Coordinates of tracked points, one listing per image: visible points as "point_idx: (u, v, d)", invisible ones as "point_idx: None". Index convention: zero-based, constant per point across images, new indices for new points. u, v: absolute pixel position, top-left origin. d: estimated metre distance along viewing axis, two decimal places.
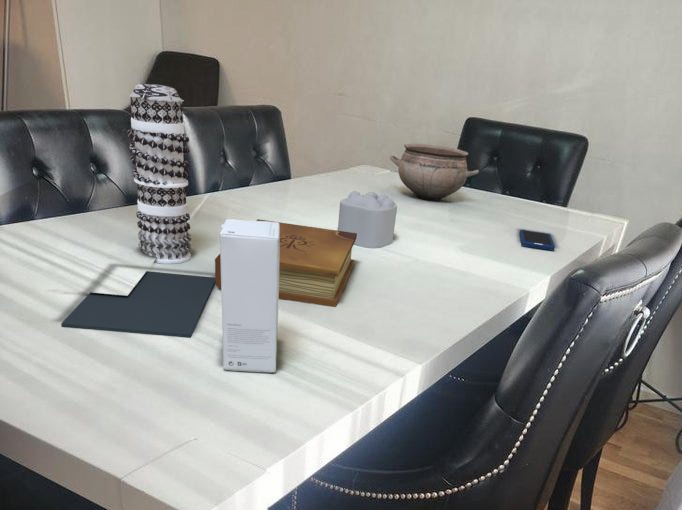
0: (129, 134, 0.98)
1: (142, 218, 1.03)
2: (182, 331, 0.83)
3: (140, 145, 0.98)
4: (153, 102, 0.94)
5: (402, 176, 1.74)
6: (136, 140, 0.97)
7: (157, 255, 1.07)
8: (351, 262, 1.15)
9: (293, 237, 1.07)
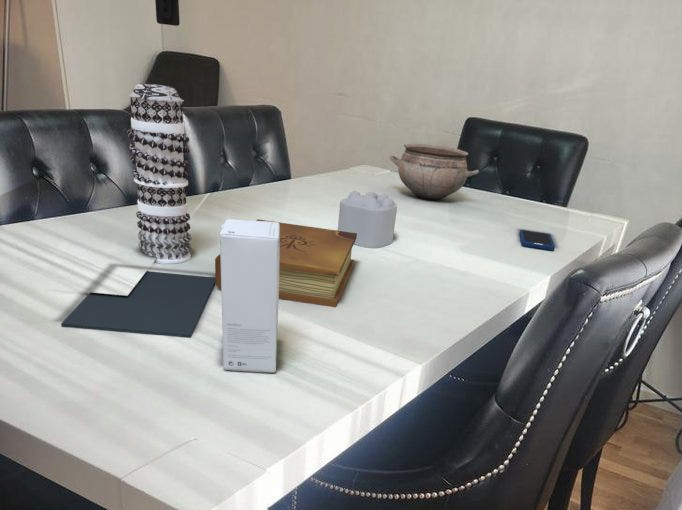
0: (129, 134, 0.98)
1: (142, 218, 1.03)
2: (182, 331, 0.83)
3: (140, 145, 0.98)
4: (153, 102, 0.94)
5: (402, 176, 1.74)
6: (136, 140, 0.97)
7: (157, 255, 1.07)
8: (351, 262, 1.15)
9: (293, 237, 1.07)
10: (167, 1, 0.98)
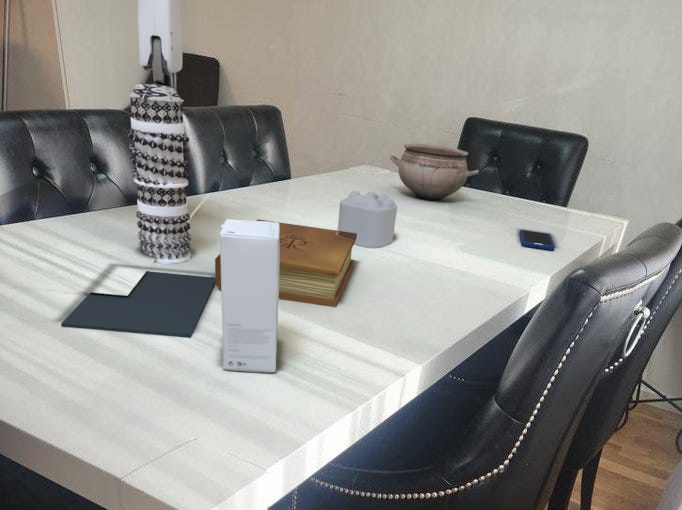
0: (129, 134, 0.97)
1: (142, 218, 1.03)
2: (182, 331, 0.83)
3: (140, 145, 0.98)
4: (153, 102, 0.94)
5: (402, 176, 1.74)
6: (136, 140, 0.97)
7: (157, 255, 1.07)
8: (351, 262, 1.15)
9: (293, 237, 1.07)
10: None
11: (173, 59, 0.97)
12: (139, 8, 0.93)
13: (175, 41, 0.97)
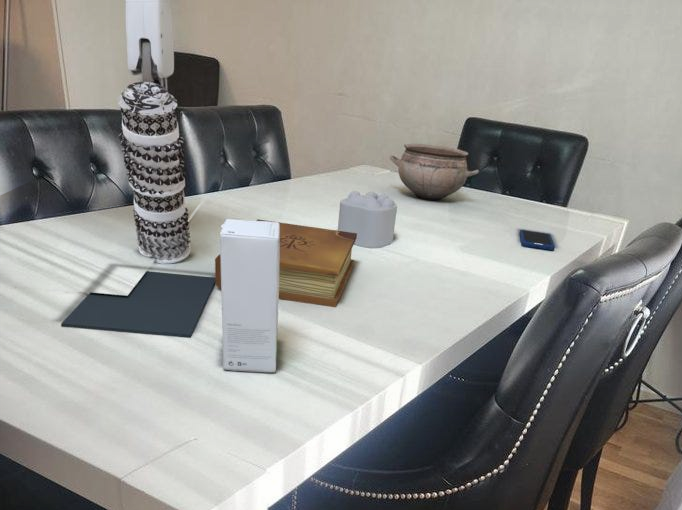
0: (121, 142, 0.93)
1: (140, 221, 1.02)
2: (182, 331, 0.83)
3: None
4: (145, 116, 0.89)
5: (402, 176, 1.74)
6: (129, 151, 0.93)
7: (157, 255, 1.06)
8: (351, 262, 1.15)
9: (293, 237, 1.07)
10: None
11: (163, 63, 0.91)
12: (127, 9, 0.87)
13: (165, 44, 0.91)
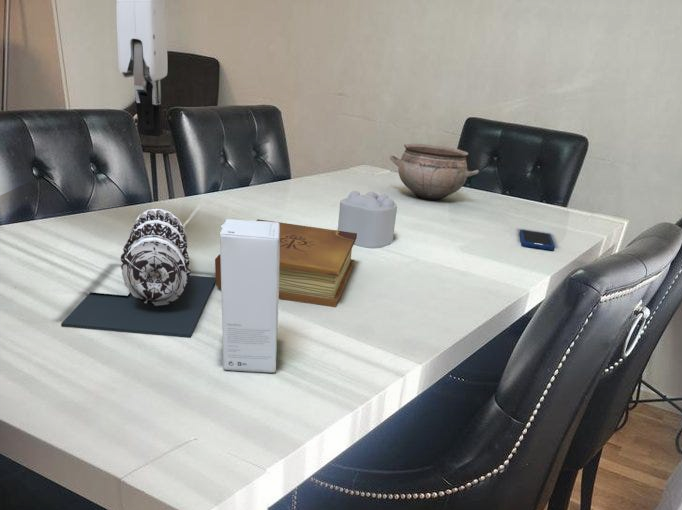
0: None
1: None
2: (182, 331, 0.83)
3: None
4: None
5: (402, 176, 1.74)
6: None
7: None
8: (351, 262, 1.15)
9: (293, 237, 1.07)
10: (149, 113, 0.93)
11: (156, 65, 0.88)
12: (118, 8, 0.83)
13: (158, 45, 0.87)
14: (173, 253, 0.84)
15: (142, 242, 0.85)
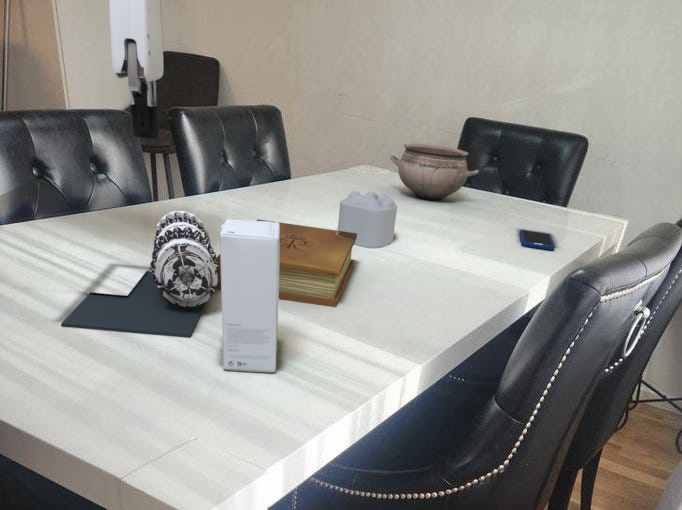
0: (152, 255, 0.89)
1: None
2: (182, 331, 0.83)
3: None
4: None
5: (402, 176, 1.74)
6: None
7: None
8: (351, 262, 1.15)
9: (293, 237, 1.07)
10: (144, 115, 0.90)
11: (151, 65, 0.85)
12: (111, 7, 0.81)
13: (153, 45, 0.85)
14: (216, 277, 0.87)
15: (197, 246, 0.87)
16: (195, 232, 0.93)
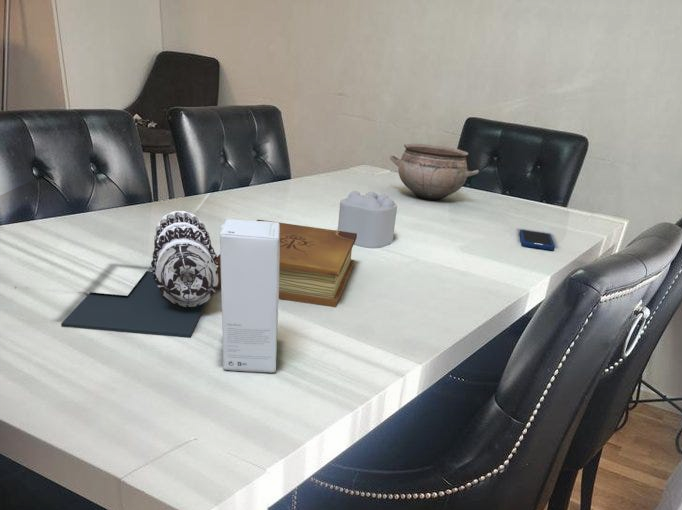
0: (153, 255, 0.89)
1: None
2: (182, 331, 0.83)
3: None
4: None
5: (402, 176, 1.74)
6: None
7: None
8: (351, 262, 1.15)
9: (293, 237, 1.08)
10: None
11: None
12: None
13: None
14: (216, 278, 0.87)
15: (198, 246, 0.87)
16: (196, 232, 0.93)
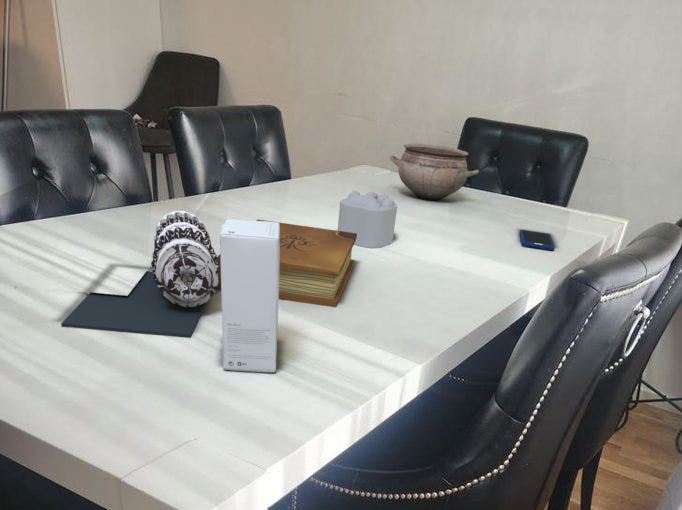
0: (153, 255, 0.89)
1: None
2: (182, 331, 0.83)
3: None
4: None
5: (402, 176, 1.74)
6: None
7: None
8: (351, 262, 1.15)
9: (293, 237, 1.07)
10: None
11: None
12: None
13: None
14: (216, 278, 0.87)
15: (198, 246, 0.87)
16: (196, 232, 0.93)
